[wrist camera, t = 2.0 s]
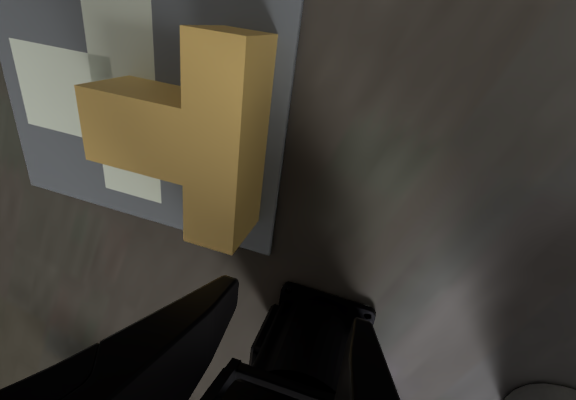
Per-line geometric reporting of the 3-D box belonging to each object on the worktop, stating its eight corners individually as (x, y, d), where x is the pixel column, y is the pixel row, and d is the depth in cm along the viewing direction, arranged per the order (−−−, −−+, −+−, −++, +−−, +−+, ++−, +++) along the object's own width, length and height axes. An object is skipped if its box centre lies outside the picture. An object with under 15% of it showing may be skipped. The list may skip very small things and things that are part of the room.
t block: (278, 34, 17) (246, 36, 14) (258, 220, 23) (232, 255, 19) (123, 8, 19) (61, 4, 16) (138, 187, 24) (94, 213, 21)
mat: (306, -22, 16) (305, -23, 16) (270, 253, 24) (269, 255, 24) (-26, -65, 20) (-31, -66, 20) (34, 183, 28) (31, 184, 28)
